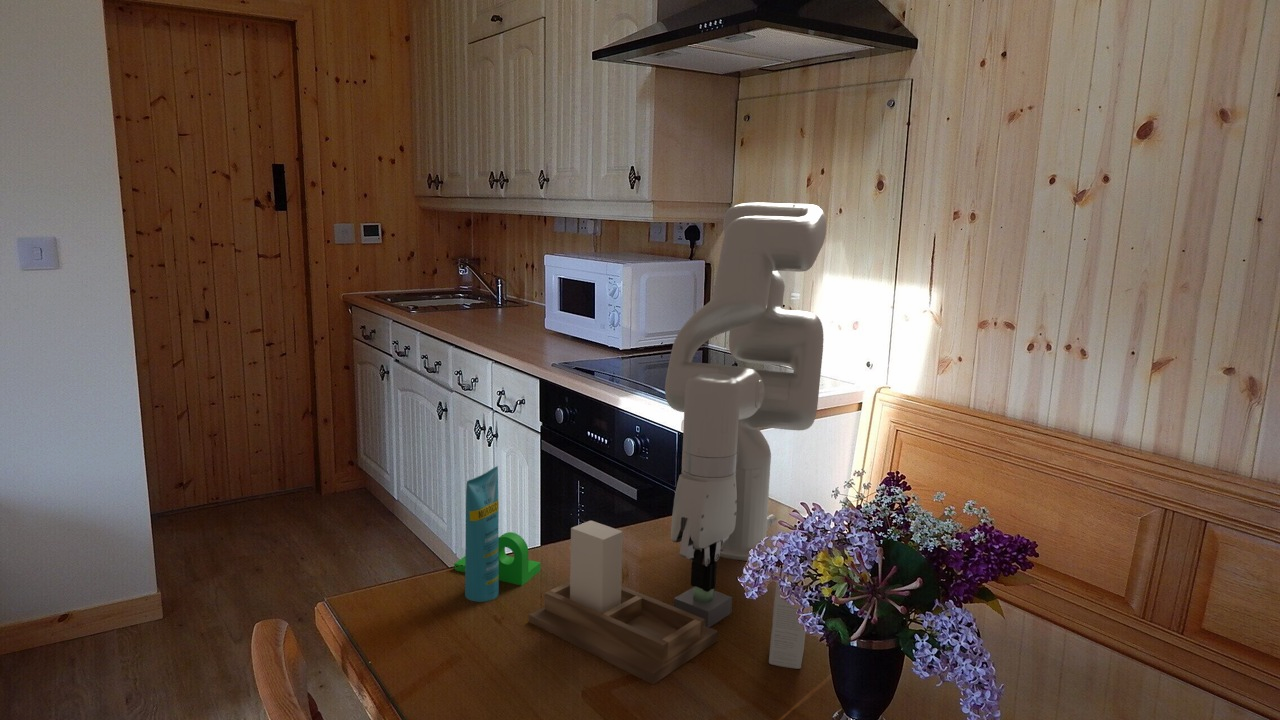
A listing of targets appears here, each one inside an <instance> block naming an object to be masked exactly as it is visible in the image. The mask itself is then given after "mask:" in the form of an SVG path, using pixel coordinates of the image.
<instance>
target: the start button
mask: <svg viewBox="0 0 1280 720" xmlns="http://www.w3.org/2000/svg"><path fill="white" fill-rule="evenodd" d="M713 590H714V589H711V590H710V591H708V592H707V591H704V590H703V589H701V588H698V587H696V586H695V587H694V599H695V600H697V601H699V602H710V601H712V600H713Z"/></svg>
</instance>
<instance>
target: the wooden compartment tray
mask: <svg viewBox="0 0 1280 720" xmlns="http://www.w3.org/2000/svg"><path fill="white" fill-rule="evenodd" d="M530 622H531V623H530ZM528 623H530V624H532V625H533V626H536V625H537V626H536V627H538V628H540V627H541V628H540V629H542V628H543V629H542V630H544V629H545V630H544V631H546V630H547V631H549V632H551V633H553V634H554V636H555V635H556V637H557V636H559V637H560V639H561V638H562V640H563V639H564V641H565V640H566V642H567V641H568V642H567V643H569V642H570V644H572V645H573V646H576V647H578V648H580V649H581V650H584V651H586V652H588V653H589V654H592V655H594V656H595V657H597V658H600V659H601V660H603V661H605V662H607V663H609V664H611V665H613V666H615V667H617V668H619V669H621V670H622V671H625V672H627V673H629V674H631V675H632V676H635V677H637V678H638V679H640V680H643V681H645V682H646V683H648V684H651V685H655V684H656V683H658V682H660V681H661V680H662V679H664V678H665V677H667V676H668V675H670V674H671V673H673V672H675V671H676V670H677V669H678V668H680V667H682V666H683V665H685V664H686V663H688V662H689V661H690V660H692V659H694V658H695V657H696V656H698V655H700V654H702V652H704V651H706V650H707V649H708V648H710V647H711V646H713V645H715V644H716V643H717V642H718V640H719V639H718V638H719V637H718V636H719V631H718V630H716V629H715V628H712V627H707V626H705V619H703V618H701V617H698V616H696V615H693V614H691V613H688V612H686V611H683V610H681V609H678V608H676V607H674V605H671V604H668V603H666V602H664V601H660V600H659V599H655V598H653V597H650V596H648V595H646V594H644V593H641V592H638V591H635V590H633V589H630V588H628V587H626V586H623V585H621V604H620V605H618V606H616V607H614V608H612V609H610V610H609V611H607V612H605V613H600V612H598V611H596V610H594V609H591V608H589V607H587V606H584V605H582V604H580V603H578V602H575V601H573V600H571V599H570V580H569V581H567V582H564V583H562V584H561V585H559V586H556V587H554V588H552V589H549V590H548V591H546V592H544V606H543V607H542V608H540V609H538V610H536V611H533V612H531V613H529V614H528ZM547 631H546V632H547ZM549 632H548V633H549ZM551 633H550V634H551ZM553 634H552V635H553ZM559 637H558V638H559Z"/></svg>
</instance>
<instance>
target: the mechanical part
mask: <svg viewBox="0 0 1280 720" xmlns="http://www.w3.org/2000/svg"><path fill="white" fill-rule="evenodd" d="M526 542H527V541H526V540H525V539H524V538H523V537H522V536H521V535H520V534H518V533H516V532H512V531H511V532H509V531H507V532H506V533H503V534H502V535H500V536H498V560H499V582H504V583H508V584H513V585H517V586H523V585H525V584H526V583H527V582H529V581H530V580H531V579H532V578H533V577H534V576H536V575H537V574H538V573H539V572H541V569H542V568H541V566H542V565H541V562H540V561H535V560H530V559H529V556H530V555H529V547H528V544H527V543H526ZM506 548H508V549H509V550H511V553H512V554H513V556H511V555H510V556H509V555H507V554H506V550H505V549H506ZM461 565H463V566H461ZM456 566H459V567H456ZM454 567H455V568H454ZM453 568H454V569H455V570H454V569H453V570H454V571H458V572H462V573H465V556H463V557H461V558H460V559H459V560H457V561H456V562H454V563H453Z"/></svg>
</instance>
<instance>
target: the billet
mask: <svg viewBox="0 0 1280 720" xmlns="http://www.w3.org/2000/svg"><path fill="white" fill-rule="evenodd" d="M623 541H624V531H623V530H620V529H617V528H614V527H611V526H608V525H606V524H602V523H599V522H597V521H594V520H592V519H591V520H588V521H585V522H583V523H580V524H578V525H575V526H573V527H571V528H570V565H569V566H570V568H569V569H570V571H569V573H570V577H569V581H570V599H571V600H573V601H575V602H578V603H580V604H582V605H584V606H587V607H589V608H591V609H594V610H596V611H598V612H600V613H605V612H607V611H609V610H610V609H612V608H614V607H616V606H618V605H620V604H621V586H622V578H623V577H622V576H623V547H624V546H623V543H624V542H623Z"/></svg>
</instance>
